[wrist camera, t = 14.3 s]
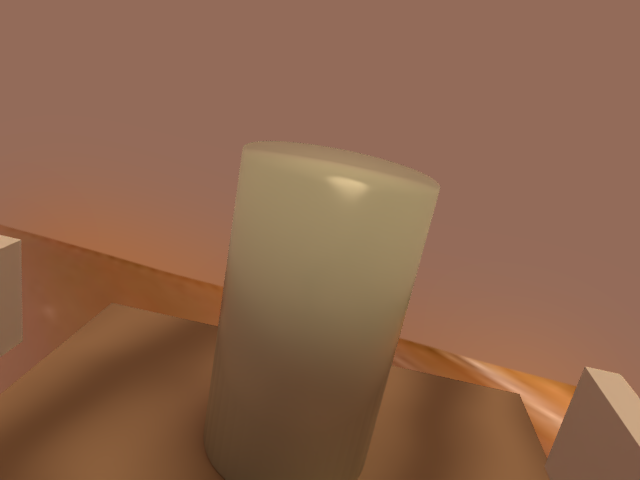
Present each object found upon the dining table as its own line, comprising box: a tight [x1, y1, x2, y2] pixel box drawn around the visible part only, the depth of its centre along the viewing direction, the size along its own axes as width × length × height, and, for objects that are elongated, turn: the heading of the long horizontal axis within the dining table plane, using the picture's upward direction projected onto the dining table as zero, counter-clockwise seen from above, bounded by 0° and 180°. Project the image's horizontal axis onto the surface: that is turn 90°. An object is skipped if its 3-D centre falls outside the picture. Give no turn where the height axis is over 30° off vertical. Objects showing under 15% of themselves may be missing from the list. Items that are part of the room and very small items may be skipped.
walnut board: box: [0, 303, 550, 480], centre depth 20 cm, size 22×14×2 cm, turn 83°
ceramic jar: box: [203, 141, 440, 480], centre depth 18 cm, size 6×6×11 cm
